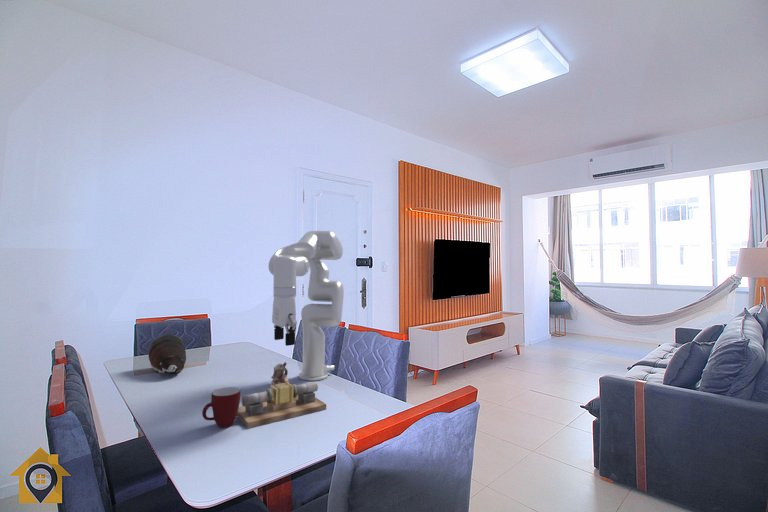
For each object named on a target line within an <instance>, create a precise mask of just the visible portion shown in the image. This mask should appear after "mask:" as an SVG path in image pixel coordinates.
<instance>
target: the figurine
mask: <svg viewBox="0 0 768 512" xmlns="http://www.w3.org/2000/svg"><path fill="white" fill-rule="evenodd" d="M286 365H287V362H286V361H285V362H283V364H282V363H277V364H276V366H274V367H273V375H272V376H271V377H270V378H271V379H272V382H271V385H275V384H281V383H286V382H288V383H290V381H289V378H288V373H289V372H288V369H287V368H286Z"/></svg>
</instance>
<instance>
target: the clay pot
mask: <svg viewBox="0 0 768 512" xmlns="http://www.w3.org/2000/svg"><path fill="white" fill-rule="evenodd" d="M186 354H187V353H186V348H185V344H184V341H183V338H181V337H179V336H178V335H173V334H163V335H161V336H159V337H157V338H155V339H154V340H153V341H152V342H151V344H150V346H149V347H148V360H149V363H150V367H151V368H152V369H153V371H156V372H158V373H159V375H161V374H162V373H163V374H164V373H167V374H175V376H178V375H180V374H181V372H182V371H183V370H184V369H185V364H186V361H187V355H186Z"/></svg>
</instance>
